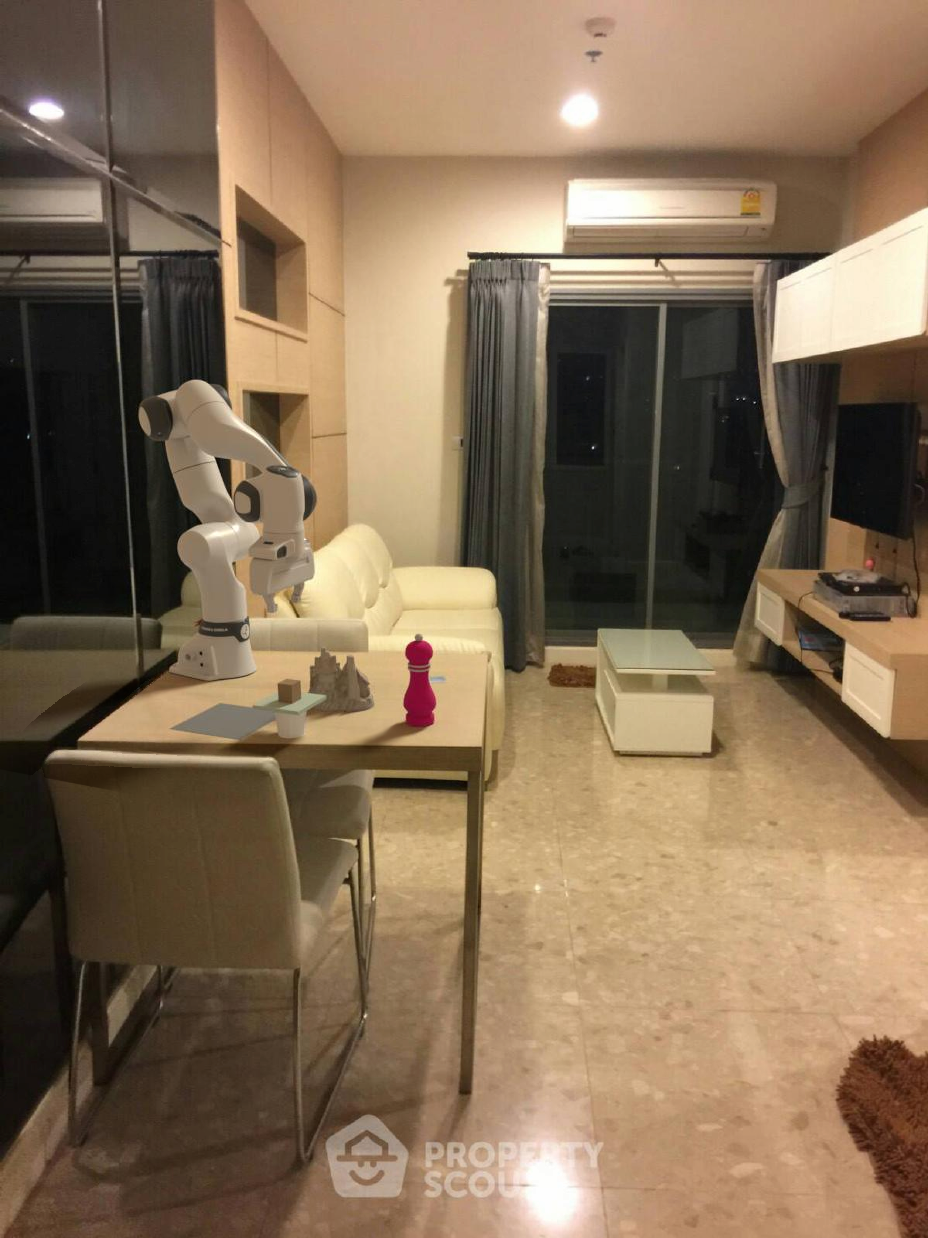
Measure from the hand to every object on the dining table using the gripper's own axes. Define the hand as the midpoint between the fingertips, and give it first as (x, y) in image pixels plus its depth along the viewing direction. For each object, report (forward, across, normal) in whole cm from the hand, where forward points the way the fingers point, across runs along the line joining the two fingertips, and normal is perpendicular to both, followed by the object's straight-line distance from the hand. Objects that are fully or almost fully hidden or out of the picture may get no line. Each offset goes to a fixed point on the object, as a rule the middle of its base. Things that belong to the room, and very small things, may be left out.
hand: (284, 607), depth 199 cm
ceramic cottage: (+25, -14, +6) cm, 30 cm away
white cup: (+25, +9, +7) cm, 28 cm away
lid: (+18, +9, +7) cm, 21 cm away
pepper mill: (+24, -8, +29) cm, 39 cm away
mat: (+26, +7, -10) cm, 28 cm away
